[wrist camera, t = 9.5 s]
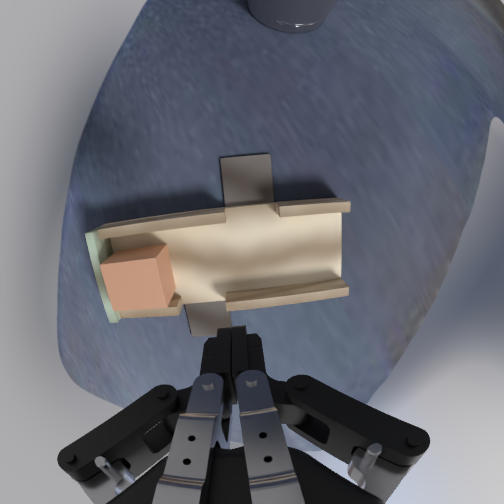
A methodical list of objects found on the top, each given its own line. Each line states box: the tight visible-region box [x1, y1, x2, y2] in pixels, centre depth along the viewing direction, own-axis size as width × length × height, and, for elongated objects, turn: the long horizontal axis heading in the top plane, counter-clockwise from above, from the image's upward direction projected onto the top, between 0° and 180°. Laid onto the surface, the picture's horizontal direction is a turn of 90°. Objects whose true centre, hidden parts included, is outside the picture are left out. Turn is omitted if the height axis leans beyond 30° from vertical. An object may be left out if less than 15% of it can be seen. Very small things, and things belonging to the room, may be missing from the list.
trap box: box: [85, 154, 350, 337], centre depth 27 cm, size 20×26×4 cm
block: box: [100, 244, 176, 311], centre depth 26 cm, size 5×6×4 cm
